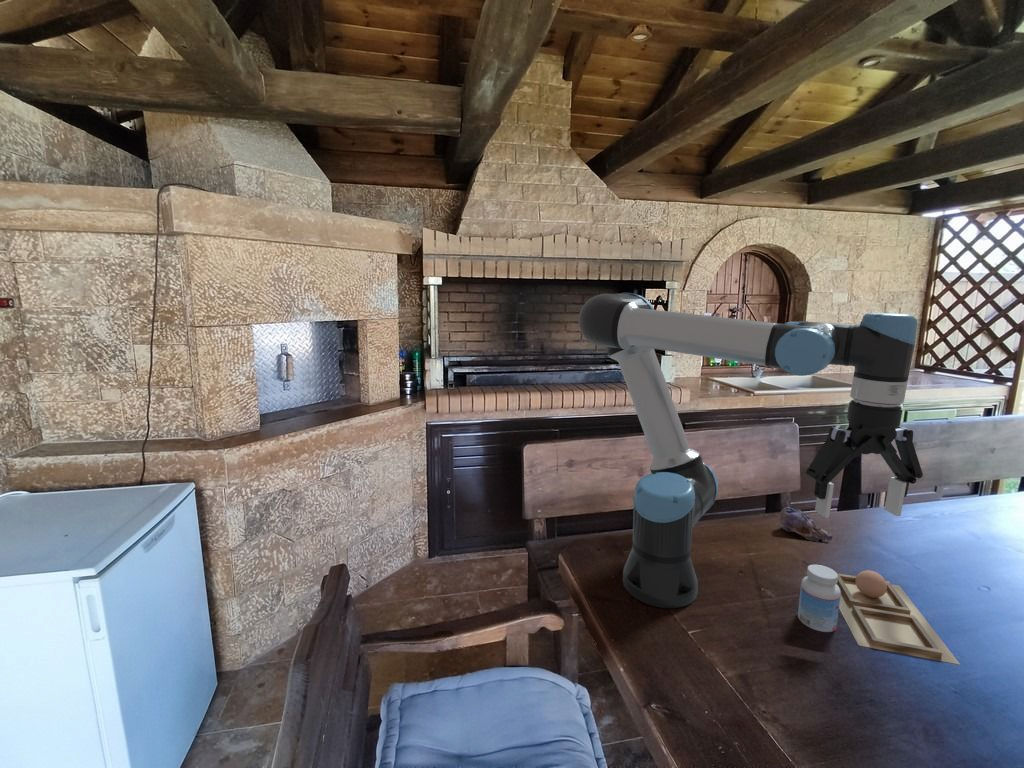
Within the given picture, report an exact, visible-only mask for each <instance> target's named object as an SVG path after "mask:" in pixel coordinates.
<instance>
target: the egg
mask: <svg viewBox="0 0 1024 768" xmlns="http://www.w3.org/2000/svg"><path fill="white" fill-rule="evenodd" d="M855 576H856V586H857V588H858V589H859V590H860V591H861V592H862V593H863V594H864V595H866V596H869V597H872V598H878V597H881V596H883V595H884V594H885V593H886V591H887V584H886V581H887V580H885V577H883V576H882V575H881V574H879V573H878V572H876V571H873V570H867V569H866V570H863V571H860V572H859V573H857V575H855Z"/></svg>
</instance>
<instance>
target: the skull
mask: <svg viewBox="0 0 1024 768" xmlns="http://www.w3.org/2000/svg"><path fill="white" fill-rule="evenodd" d="M778 523H779V525H780V526H781V528H782V529H783V530H785V531H786V532H794V533H797V534H798V535H800V536H802V537H804V539H806V540H808V541H811V542H812V541H813V542H816V543H819V541H820V540H821V541H822V543H823V544H825V541H827V542H831V541H832V540H833V534H832V533H830V532H829V531H827V530H824V529H822V528H821V527H820V526H818V525H817V524H816V522H815V521H814V520H813V519H812V518H810V516H809V515H808V514H807V513H806V512H804V511H802V510H799V509H795V508H793V507H790V506H786V507H784V508H782V509H781V511H780V515H779V519H778Z"/></svg>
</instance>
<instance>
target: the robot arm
mask: <svg viewBox="0 0 1024 768" xmlns="http://www.w3.org/2000/svg"><path fill="white" fill-rule="evenodd" d="M583 304H584V305H583V306H582V307H581V308H580V312H579V314H578V327H579V331H580V333H581V335H582V336H583V338H584V339H585V340H586V341H587V342H589V344H591V345H595V346H597V347H605V348H606V351H607V354H608V356H609V358H610V359H612V360H614V361H615V362H618V364H619V367H620V370H621V373H622V375H623V378H624V381H625V384H626V387H627V389H628V392H629V395H630V399H631V402H632V404H633V406H634V409H635V412H636V414H637V418H638V420H639V423H640V425H641V429H642V431H643V433H644V436H645V440H646V442H647V446H648V447H649V451H650V453H651V455H652V461H651V463H650V465H649V466H648V467H649V470H650V473H648V474H646V475H644V476H642V477H641V478H640V479H638V481H637V483H636V484H635V488H634V493H633V497H632V500H633V501H632V502H633V517H632V518H633V520H632V547H631V550H630V552H629V555H628V556H627V560H626V562H625V564H624V566H623V570H622V584H623V587H624V588H625V590H626V592H628V594H629V595H630V596H631V597H633V598H635V599H636V600H637V601H640V602H641V603H644V604H646V605H649V606H652V607H657V608H661V609H662V608H663V609H678V608H679V609H680V608H682V607H683V608H684V607H686V606H689V605H690V604H692V603H693V602H694V601H696V598H697V596H698V585H699V584H698V583H699V582H698V578H697V575H696V572H695V568H694V564H693V560H692V557H691V555H692V553H691V550H692V538H693V537H692V536H693V534H692V533H693V529H694V526H695V525H696V524H697V522H698V521H700V519H701V518H702V517H703V516H704V515H705V513H707V512H708V511H709V510H710V509H711V508H712V506H713V505H714V504H715V502H716V498H717V497H718V493H719V482H718V478H717V476H716V473H715V472H714V470H713V469H712V468H711V467H710V465H707V464H705V462H704V461H703V459H702V455H701V453H700V452H699V451H697V450H696V449H693V448H691V445H690V444H689V441H688V437H687V435H686V433H685V430H684V427H683V424H682V422H681V419H680V417H679V414H678V411H677V408H676V405H675V403H674V400H673V398H672V394H671V391H670V389H669V386H668V383H667V380H666V378H665V375H664V374H663V370H662V367H661V365H660V362H659V360H658V359H659V358H658V357H657V354H656V350H660V351H666V352H672V353H673V352H674V353H679V354H687V355H691V356H692V355H693V356H700V357H705V358H712V359H718V360H726V361H729V362H730V361H732V362H737V363H744V364H751V365H757V366H763V367H769V368H773V369H779V370H780V369H781V370H783V371H785V372H786V373H789V374H791V375H794V376H801V377H802V376H811V375H814V374H817V373H819V372H821V371H823V370H824V369H826V368H827V367H828V365H831V366H832V365H833V366H845V367H854V372H853V377H852V382H851V383H852V384H851V388H850V394H849V396H850V397H851V398H852V399H851V400H850V401H849V402H848V408H847V414H846V415H847V416H846V419H847V421H848V426H847V427H846V429H841V428H838V427H834V426H831V427H830V428H829V430H828V435H827V438H826V440H825V441H824V442H823V445H821V447H820V449H819V451H818V452H817V454H816V455H815V457H814V458H813V460H812V461H811V463H810V464H809V466H808V468H807V469H806V471H805V474H806V475H807V476H808V477H810V478H812V479H813V480H815V486H814V491H813V494H814V496H815V497H816V500H815V501H816V502H815V508H814V512H816V513H817V514H819V515H820V516H822V517H823V518H824V519H829V518H830V514H831V507H832V501H833V495H834V488H835V484H834V483H833V482H832V481H833V480H834V479H835V478H836V476H837V475H838V474H839V473H841V471H842V470H843V469H845V467H847V466H848V464H850V463H851V462H852V461H853V460H854V459H855V458H858V457H860V456H861V455H871V454H874V455H880V456H881V458H882V459H883V460H884V461H885V463H886V464H887V466H888V467H889V469H890V470H891V472H892V473H893V475H894V476H890V477H889V481H888V487H887V491H886V497H885V503H884V508H883V510H885V511H886V512H889V513H890V514H892V515H894V516H896V517H901V516H902V511H903V510H902V509H903V504H904V500H905V498H906V497H907V495H908V491H909V486H910V484H911V485H913V484H916V482H917V479H921V478H923V474H924V473H923V470H922V467H921V463H920V461H919V458H918V454H917V452H916V448H915V446H914V431H913V430H912V429H910V428H906V427H905V426H901V422H902V415H903V411H904V408H903V407H902V406H901V405H902V404H904V402H905V397H906V392H907V388H908V387H907V386H908V380H909V376H910V373H911V371H910V370H911V365H912V361H913V357H914V356H913V355H914V350H915V348H916V347H915V346H916V339H917V337H916V336H917V329H918V319H917V318H916V317H915V316H914V315H912V314H907V313H890V312H889V313H888V312H886V313H885V312H883V313H881V312H880V313H879V312H868V313H865V314H864V315H863V316H862V319H861V321H860V323H836V322H835V323H834V322H819V321H816V322H814V321H808V320H806V321H805V320H804V321H803V320H801V321H787V322H785V323H776V322H769V321H758V320H751V319H750V320H749V319H743V318H742V319H740V318H733V317H721V316H713V315H704V314H698V313H697V314H696V313H695V314H694V313H686V312H685V313H684V312H676V311H667V310H658V309H655V307H654V306H653V305H652V303H651V302H650V301H649V300H648V298H646V297H644V296H642V295H639V294H635V293H632V292H621V293H600V294H597V295H594V296H593V297H591V298H589V299H588V300H587V301H585V303H583ZM893 441H894V443H895V445H896V448H897V449H896V448H895V447H894V445H893Z"/></svg>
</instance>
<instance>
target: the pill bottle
mask: <svg viewBox="0 0 1024 768" xmlns="http://www.w3.org/2000/svg"><path fill="white" fill-rule="evenodd" d="M837 579H838V575H837V571H835V570H834V569H832V568H831V567H828V566H826V565H820V564H810V565H808V566H807V569H806V576H804V577H803V578H802V579H801V583H800V590H799V591H800V592H799V599H798V611H797V618H798V620H799V621H800V622H801V623H802V624H803V625H805V626H806V627H808V628H810V629H811V630H815V631H817V632H823V633H831V632H835V631H836V630H837V627H838V620H839V613H840V612H839V611H840V609H839V604H840V596H841V591H840V589H839V587H838V586H837V582H838V580H837Z"/></svg>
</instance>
